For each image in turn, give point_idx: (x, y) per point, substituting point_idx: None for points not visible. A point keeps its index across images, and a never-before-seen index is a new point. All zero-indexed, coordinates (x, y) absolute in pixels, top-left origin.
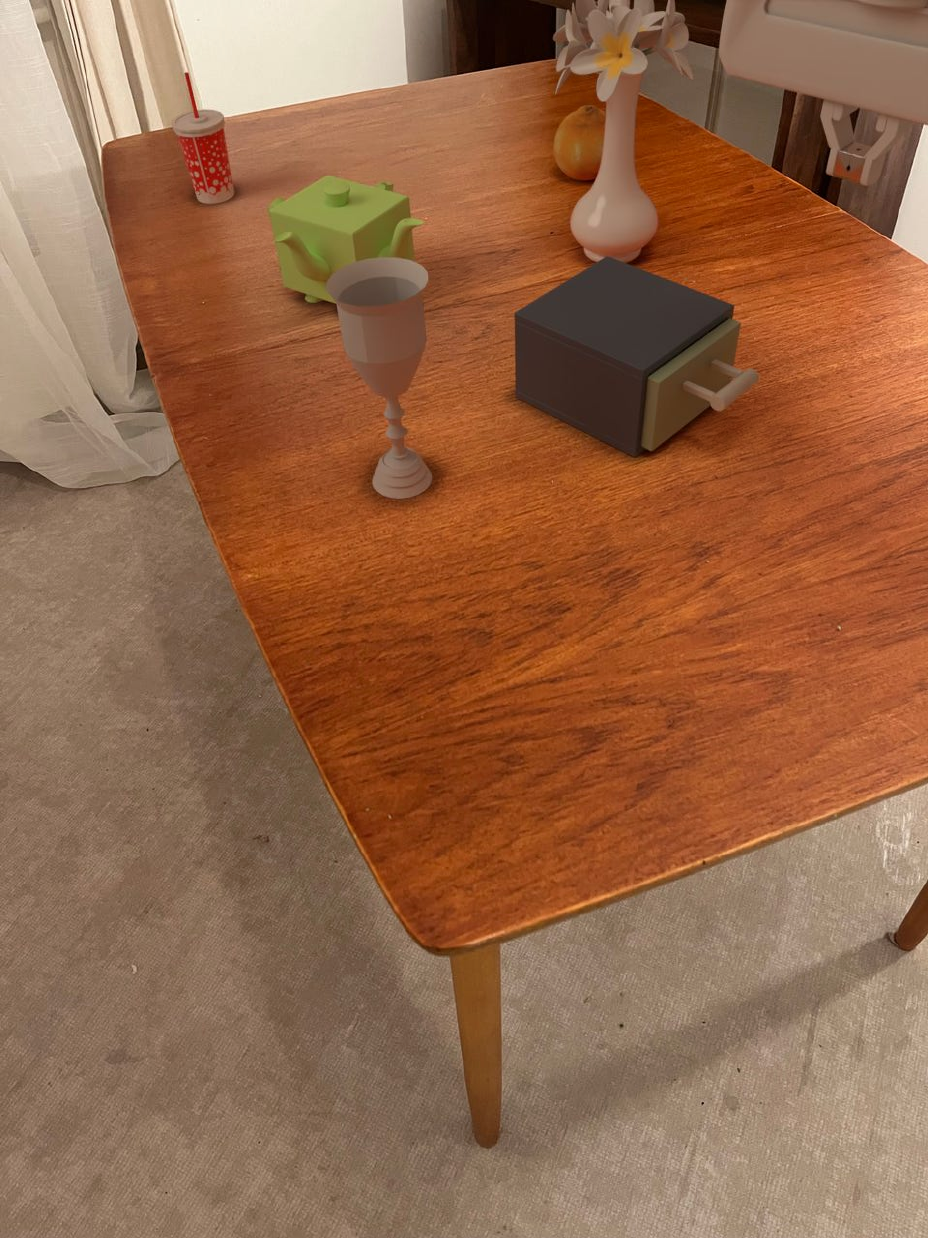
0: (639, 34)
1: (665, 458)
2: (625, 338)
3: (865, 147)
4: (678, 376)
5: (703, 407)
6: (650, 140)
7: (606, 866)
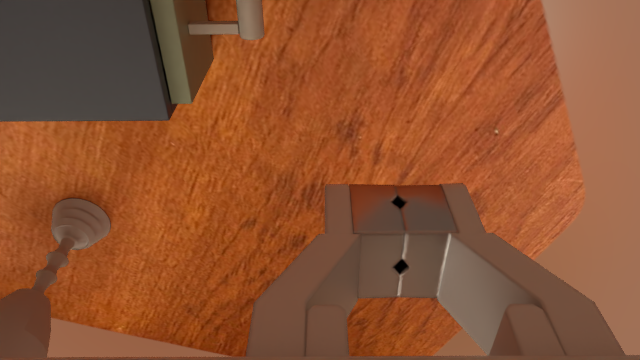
0: None
1: (225, 39)
2: (86, 76)
3: (413, 246)
4: (187, 54)
5: None
6: None
7: (442, 332)
